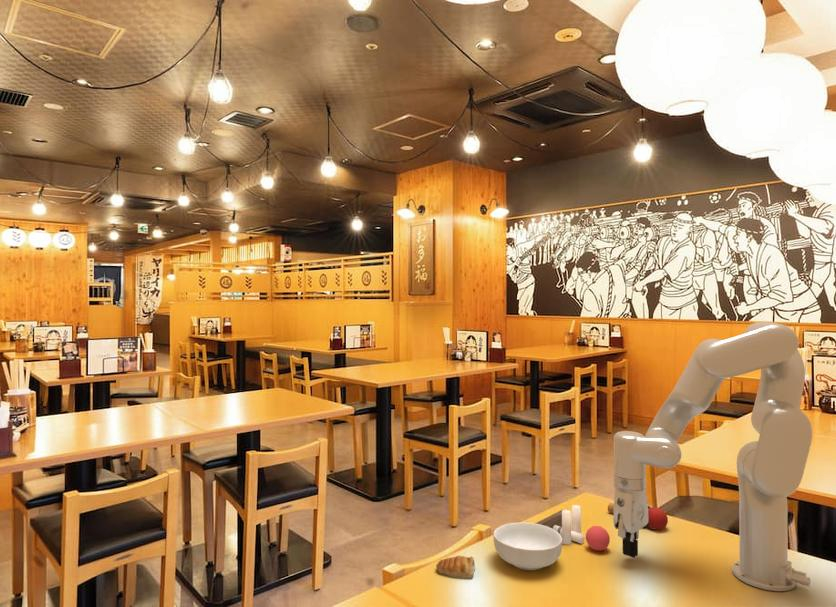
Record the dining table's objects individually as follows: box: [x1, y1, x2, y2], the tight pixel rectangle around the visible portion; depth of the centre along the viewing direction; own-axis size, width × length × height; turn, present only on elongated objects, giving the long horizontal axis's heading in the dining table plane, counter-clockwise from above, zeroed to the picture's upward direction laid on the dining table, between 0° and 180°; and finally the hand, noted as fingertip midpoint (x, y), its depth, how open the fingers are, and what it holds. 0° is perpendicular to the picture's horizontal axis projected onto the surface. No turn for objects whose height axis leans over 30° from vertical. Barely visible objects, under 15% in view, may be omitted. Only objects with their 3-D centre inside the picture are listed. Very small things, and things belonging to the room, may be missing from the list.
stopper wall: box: [535, 509, 563, 529], centre depth 153 cm, size 2×16×4 cm, turn 133°
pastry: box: [435, 555, 476, 580], centre depth 132 cm, size 9×7×4 cm
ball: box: [585, 525, 611, 552], centre depth 143 cm, size 6×6×6 cm
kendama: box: [607, 502, 669, 531], centre depth 160 cm, size 8×6×18 cm
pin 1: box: [562, 509, 572, 546], centre depth 147 cm, size 2×2×8 cm
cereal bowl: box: [493, 521, 563, 571], centre depth 136 cm, size 17×17×7 cm
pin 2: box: [571, 504, 582, 534], centre depth 150 cm, size 2×2×8 cm
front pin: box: [553, 525, 586, 545], centre depth 149 cm, size 2×2×8 cm
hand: (630, 554), depth 136 cm, fingers closed
